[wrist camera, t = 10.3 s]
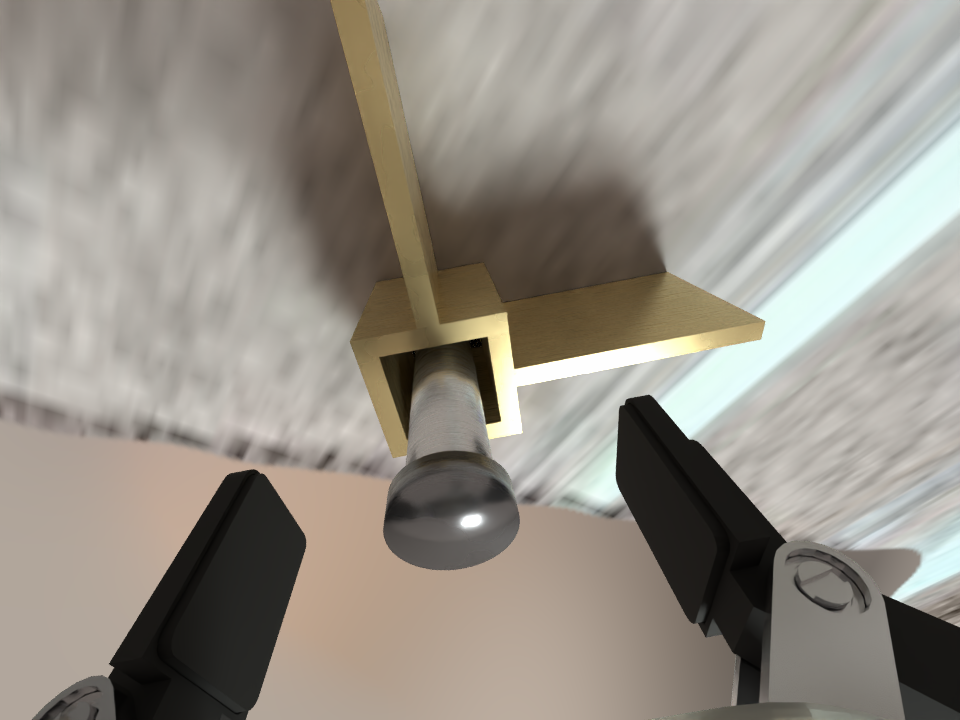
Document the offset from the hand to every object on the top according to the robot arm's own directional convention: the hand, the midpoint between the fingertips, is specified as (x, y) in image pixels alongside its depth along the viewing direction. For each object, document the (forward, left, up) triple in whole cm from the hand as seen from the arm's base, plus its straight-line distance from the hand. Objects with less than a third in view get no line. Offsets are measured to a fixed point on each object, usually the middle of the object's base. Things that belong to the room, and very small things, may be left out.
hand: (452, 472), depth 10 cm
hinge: (-4, +5, -12) cm, 14 cm away
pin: (+1, 0, -12) cm, 12 cm away
